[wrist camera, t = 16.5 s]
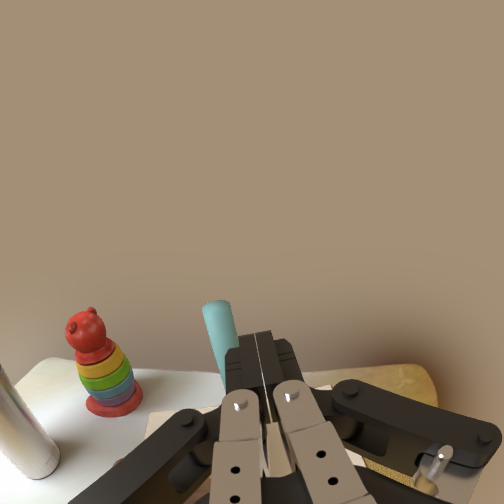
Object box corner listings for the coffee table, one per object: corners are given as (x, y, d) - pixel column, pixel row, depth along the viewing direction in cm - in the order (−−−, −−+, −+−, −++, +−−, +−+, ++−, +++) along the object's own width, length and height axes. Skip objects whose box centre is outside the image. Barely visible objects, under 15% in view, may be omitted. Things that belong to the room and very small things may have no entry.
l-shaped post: (262, 481, 28) (226, 367, 22) (236, 484, 28) (188, 371, 22) (257, 415, 39) (230, 298, 33) (236, 417, 40) (203, 302, 33)
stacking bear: (118, 375, 53) (83, 296, 47) (155, 387, 49) (120, 301, 43) (83, 408, 43) (38, 326, 38) (120, 427, 39) (70, 338, 34)
